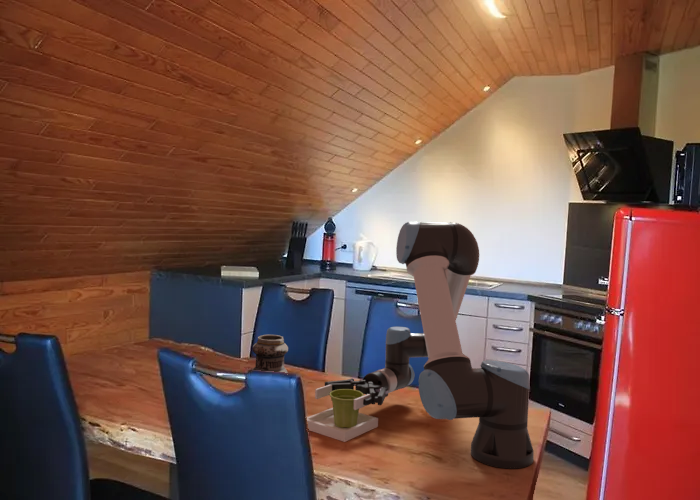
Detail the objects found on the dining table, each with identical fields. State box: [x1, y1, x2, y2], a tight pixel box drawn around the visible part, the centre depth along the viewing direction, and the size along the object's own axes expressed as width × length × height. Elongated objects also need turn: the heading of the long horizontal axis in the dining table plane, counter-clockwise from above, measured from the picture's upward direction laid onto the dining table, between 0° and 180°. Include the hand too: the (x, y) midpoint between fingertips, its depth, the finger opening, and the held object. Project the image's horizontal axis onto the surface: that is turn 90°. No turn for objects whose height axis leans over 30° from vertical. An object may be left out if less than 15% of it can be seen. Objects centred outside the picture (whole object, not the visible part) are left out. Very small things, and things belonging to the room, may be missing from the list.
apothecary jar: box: [252, 334, 289, 373], centre depth 194 cm, size 12×12×18 cm
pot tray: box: [306, 407, 379, 443], centre depth 161 cm, size 15×15×2 cm
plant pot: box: [329, 389, 365, 428], centre depth 160 cm, size 9×9×9 cm
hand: (334, 399), depth 159 cm, fingers open, 13 cm apart
